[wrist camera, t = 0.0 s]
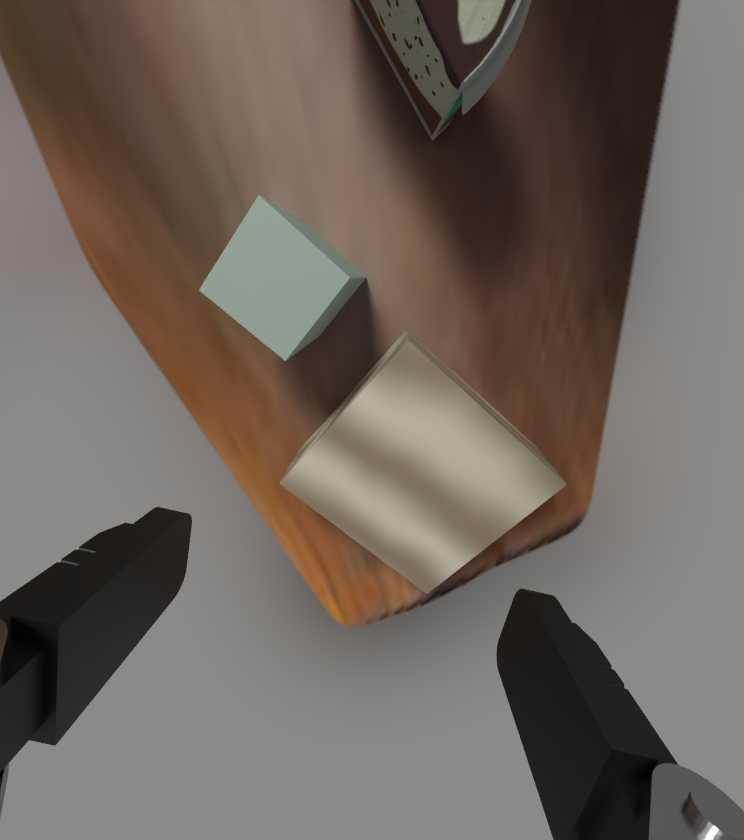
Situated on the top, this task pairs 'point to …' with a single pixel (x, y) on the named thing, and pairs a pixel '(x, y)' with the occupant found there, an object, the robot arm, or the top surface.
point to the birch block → (420, 467)
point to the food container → (445, 49)
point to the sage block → (281, 279)
